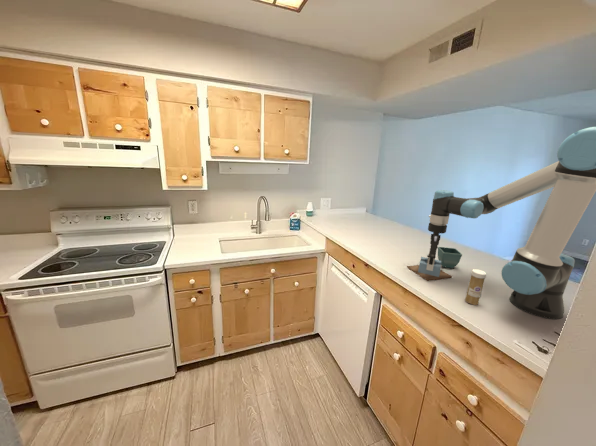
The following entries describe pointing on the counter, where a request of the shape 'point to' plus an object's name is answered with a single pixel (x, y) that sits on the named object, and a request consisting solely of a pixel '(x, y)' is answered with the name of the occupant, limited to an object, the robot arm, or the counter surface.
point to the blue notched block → (434, 273)
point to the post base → (429, 277)
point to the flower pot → (449, 256)
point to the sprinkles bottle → (475, 286)
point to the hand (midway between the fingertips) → (430, 264)
